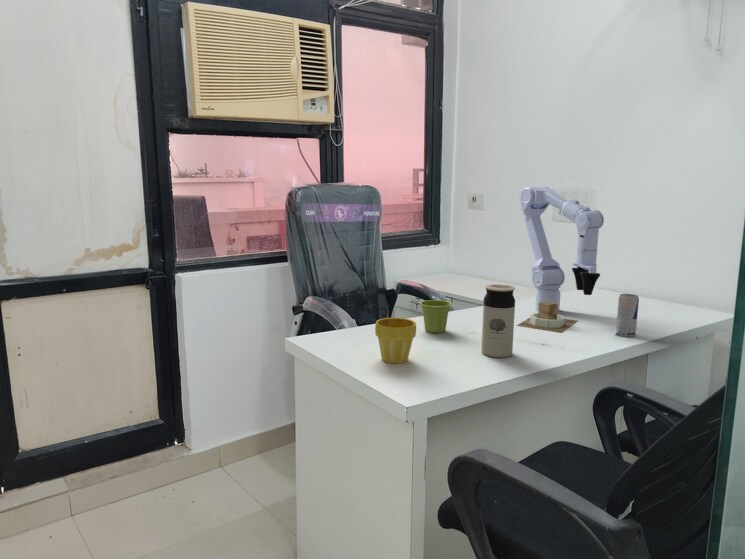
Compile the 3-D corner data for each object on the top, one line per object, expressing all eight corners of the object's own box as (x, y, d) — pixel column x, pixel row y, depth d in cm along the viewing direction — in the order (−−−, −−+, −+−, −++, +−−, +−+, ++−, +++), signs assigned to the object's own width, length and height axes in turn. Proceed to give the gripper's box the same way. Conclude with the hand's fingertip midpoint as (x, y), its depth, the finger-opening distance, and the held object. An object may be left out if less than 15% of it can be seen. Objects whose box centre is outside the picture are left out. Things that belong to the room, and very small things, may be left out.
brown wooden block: (546, 319, 175) (547, 301, 174) (556, 322, 172) (557, 303, 171) (537, 321, 173) (538, 302, 172) (547, 324, 170) (548, 305, 169)
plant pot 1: (423, 361, 139) (424, 324, 137) (390, 368, 133) (390, 329, 131) (399, 350, 147) (400, 315, 146) (367, 357, 142) (367, 320, 140)
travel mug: (487, 347, 151) (490, 282, 148) (515, 352, 147) (519, 285, 144) (477, 355, 144) (479, 287, 141) (507, 360, 140) (510, 290, 137)
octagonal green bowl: (536, 318, 179) (537, 311, 179) (566, 322, 174) (567, 315, 173) (526, 324, 171) (526, 317, 171) (557, 329, 166) (558, 321, 166)
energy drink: (637, 334, 164) (641, 295, 162) (631, 338, 161) (635, 298, 158) (619, 331, 168) (622, 292, 166) (613, 334, 164) (616, 295, 162)
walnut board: (535, 317, 185) (535, 314, 185) (578, 323, 177) (578, 320, 177) (515, 328, 170) (515, 325, 170) (561, 336, 162) (561, 332, 162)
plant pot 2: (413, 330, 167) (413, 303, 165) (431, 325, 174) (432, 298, 172) (438, 337, 161) (439, 308, 159) (456, 330, 168) (457, 302, 166)
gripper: (568, 246, 179) (565, 287, 182) (580, 252, 165) (577, 296, 168) (590, 247, 179) (587, 288, 181) (604, 252, 165) (601, 297, 167)
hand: (584, 292), depth 174 cm, fingers open, 7 cm apart
